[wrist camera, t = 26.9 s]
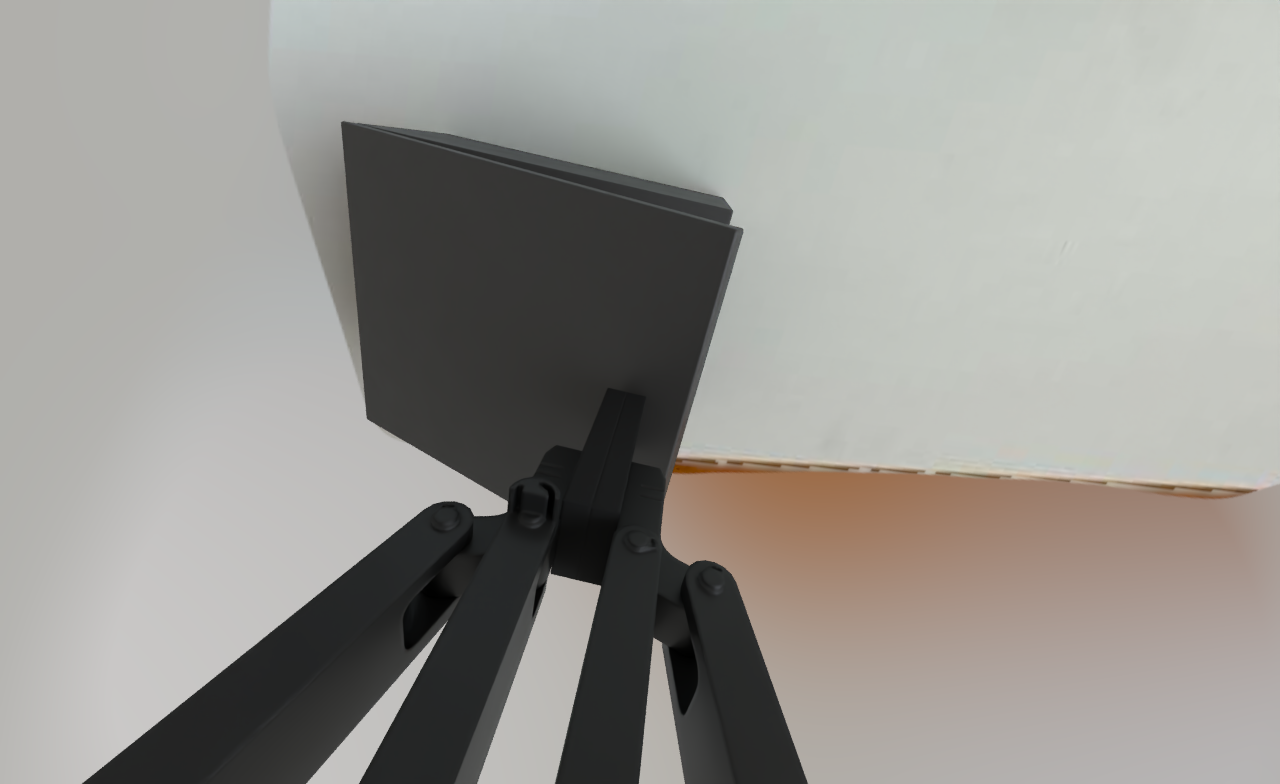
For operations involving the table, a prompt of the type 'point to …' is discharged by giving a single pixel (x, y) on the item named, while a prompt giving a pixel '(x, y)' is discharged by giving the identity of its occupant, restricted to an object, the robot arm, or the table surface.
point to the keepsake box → (582, 175)
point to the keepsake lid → (522, 306)
